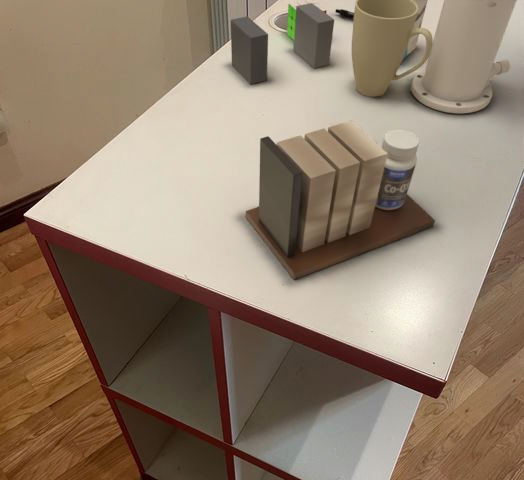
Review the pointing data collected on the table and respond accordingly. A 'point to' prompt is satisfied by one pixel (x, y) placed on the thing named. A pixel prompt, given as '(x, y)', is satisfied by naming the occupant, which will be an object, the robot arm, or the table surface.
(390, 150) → the pill bottle
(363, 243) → the bookend with books
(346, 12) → the pen
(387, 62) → the mug
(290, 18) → the green boxy piece
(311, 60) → the grey bookends
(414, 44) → the ink box
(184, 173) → the table surface
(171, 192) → the table surface
